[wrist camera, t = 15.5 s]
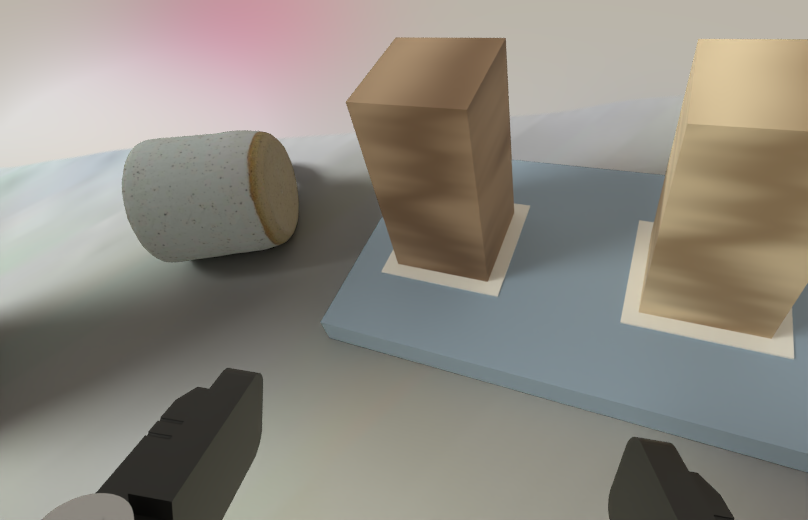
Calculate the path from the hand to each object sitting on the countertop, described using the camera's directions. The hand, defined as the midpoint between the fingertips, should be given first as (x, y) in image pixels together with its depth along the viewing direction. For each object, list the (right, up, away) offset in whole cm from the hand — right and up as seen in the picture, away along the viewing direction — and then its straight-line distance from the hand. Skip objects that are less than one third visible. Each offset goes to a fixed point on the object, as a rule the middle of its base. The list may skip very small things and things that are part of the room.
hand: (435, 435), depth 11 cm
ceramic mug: (-11, +6, +24) cm, 27 cm away
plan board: (+8, +3, +15) cm, 18 cm away
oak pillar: (+13, +3, +12) cm, 18 cm away
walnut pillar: (+2, +5, +17) cm, 18 cm away
